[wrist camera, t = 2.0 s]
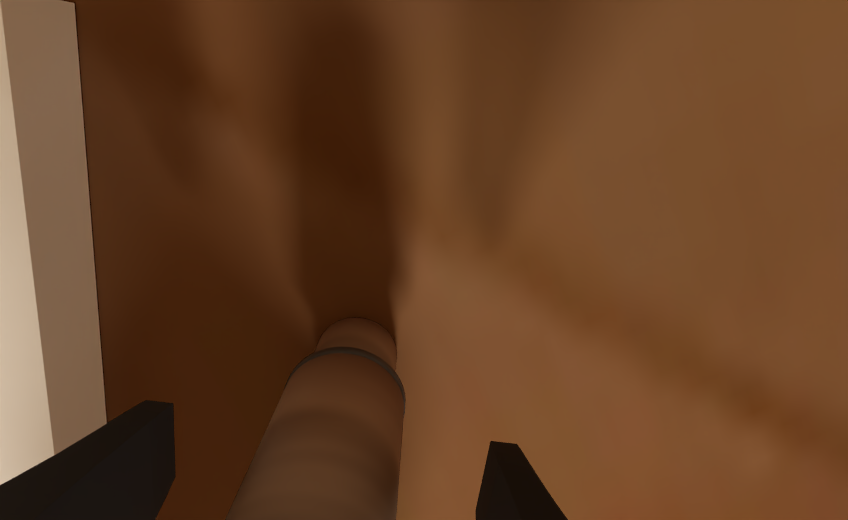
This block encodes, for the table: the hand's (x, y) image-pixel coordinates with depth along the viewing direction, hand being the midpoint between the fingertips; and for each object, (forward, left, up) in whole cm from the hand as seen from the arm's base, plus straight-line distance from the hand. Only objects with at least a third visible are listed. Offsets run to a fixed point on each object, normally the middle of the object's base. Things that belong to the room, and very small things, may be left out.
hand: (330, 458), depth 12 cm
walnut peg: (0, 0, -5) cm, 5 cm away
